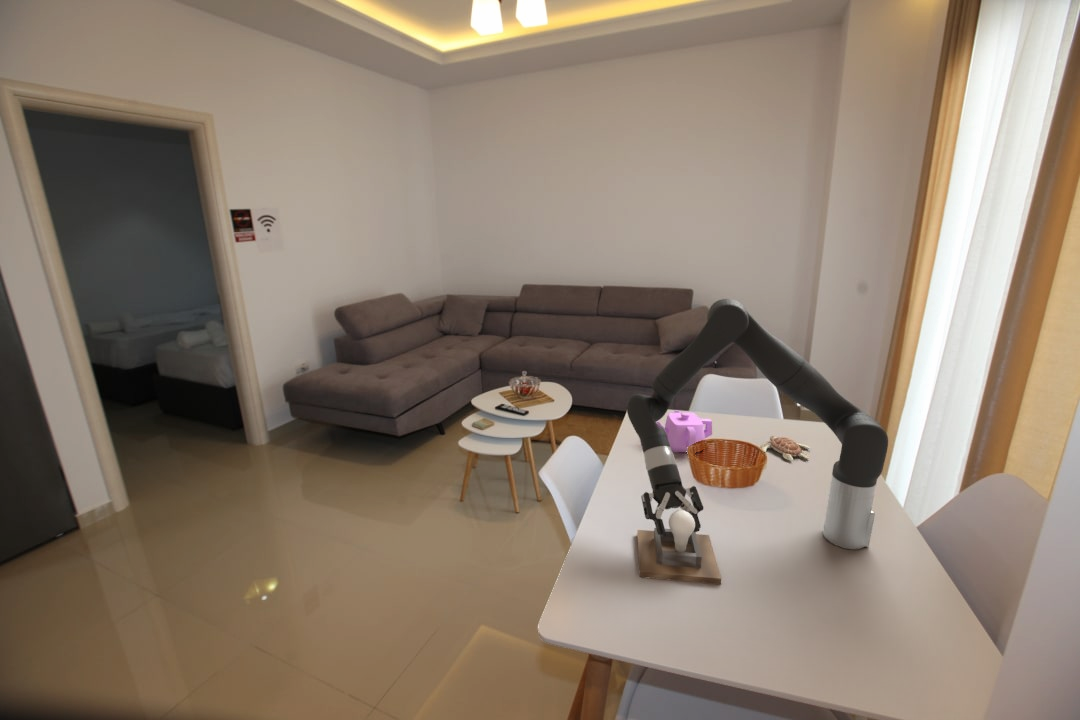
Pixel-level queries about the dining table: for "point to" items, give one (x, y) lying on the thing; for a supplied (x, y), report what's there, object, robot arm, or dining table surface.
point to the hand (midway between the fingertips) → (680, 533)
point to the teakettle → (685, 430)
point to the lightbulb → (681, 528)
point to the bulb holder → (677, 558)
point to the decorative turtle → (785, 447)
